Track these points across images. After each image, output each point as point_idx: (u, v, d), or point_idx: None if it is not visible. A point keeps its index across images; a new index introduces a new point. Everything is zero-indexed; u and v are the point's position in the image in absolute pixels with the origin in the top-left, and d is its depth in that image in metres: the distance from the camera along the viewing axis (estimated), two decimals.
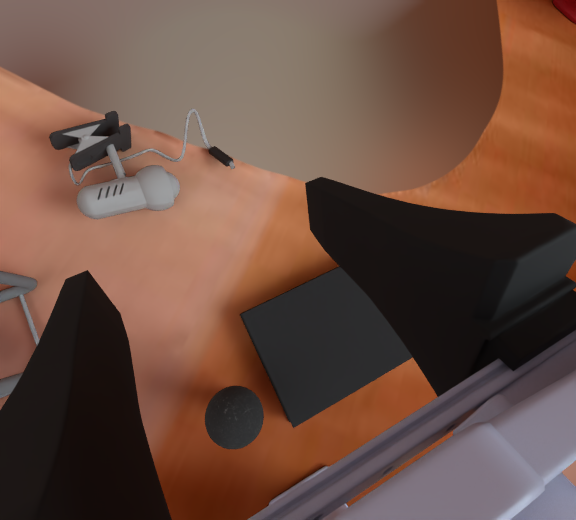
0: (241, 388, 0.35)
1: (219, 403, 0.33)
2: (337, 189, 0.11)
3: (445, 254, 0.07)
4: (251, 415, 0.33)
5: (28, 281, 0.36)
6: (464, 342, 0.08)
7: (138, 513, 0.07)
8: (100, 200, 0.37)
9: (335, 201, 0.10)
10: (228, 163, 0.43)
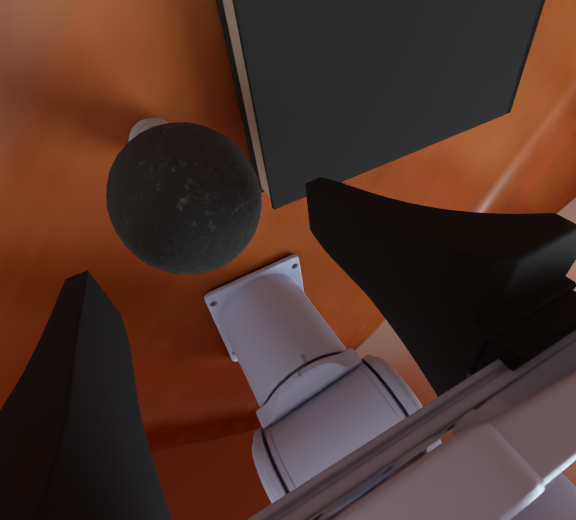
0: (218, 138, 0.12)
1: (161, 175, 0.11)
2: (337, 189, 0.11)
3: (445, 254, 0.07)
4: (247, 218, 0.12)
5: None
6: (464, 342, 0.08)
7: (139, 513, 0.07)
8: None
9: (335, 201, 0.10)
10: None
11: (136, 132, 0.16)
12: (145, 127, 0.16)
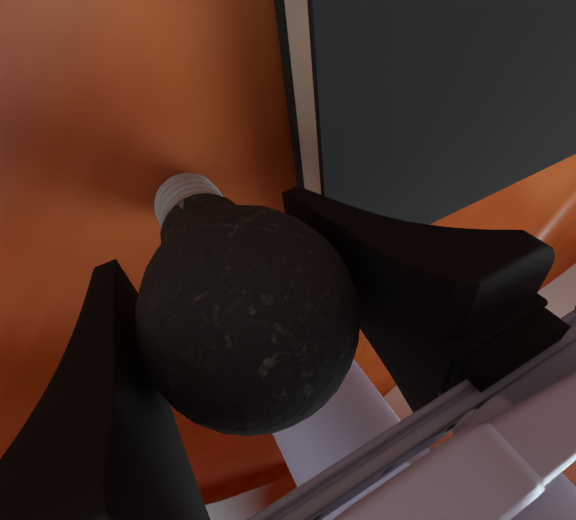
0: (309, 240, 0.08)
1: (233, 322, 0.07)
2: (312, 200, 0.10)
3: (411, 272, 0.07)
4: (351, 358, 0.08)
5: None
6: (433, 361, 0.08)
7: (178, 490, 0.07)
8: None
9: (309, 212, 0.10)
10: None
11: (166, 196, 0.12)
12: (179, 190, 0.12)
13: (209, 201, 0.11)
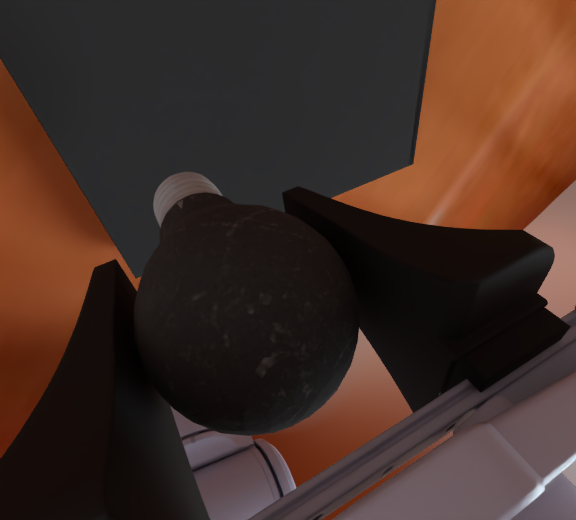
0: (308, 239, 0.08)
1: (231, 321, 0.07)
2: (312, 199, 0.10)
3: (411, 272, 0.07)
4: (350, 358, 0.08)
5: None
6: (433, 361, 0.08)
7: (178, 489, 0.07)
8: None
9: (309, 212, 0.10)
10: None
11: (165, 196, 0.12)
12: (178, 190, 0.12)
13: (208, 200, 0.11)
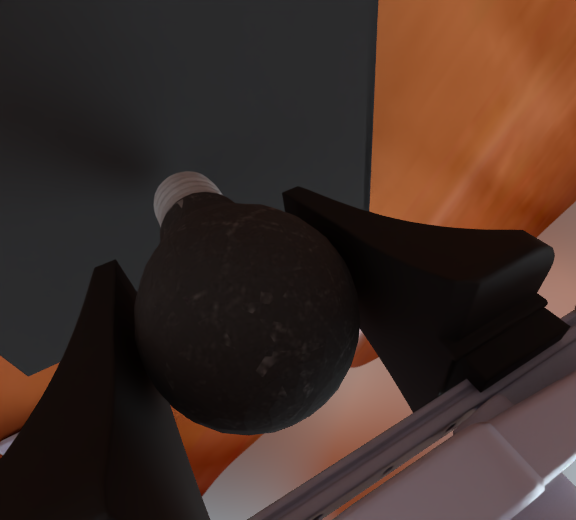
0: (308, 238, 0.08)
1: (232, 320, 0.07)
2: (312, 199, 0.10)
3: (411, 272, 0.07)
4: (351, 357, 0.08)
5: None
6: (433, 361, 0.08)
7: (178, 490, 0.07)
8: None
9: (309, 212, 0.10)
10: None
11: (166, 195, 0.12)
12: (178, 189, 0.12)
13: (208, 200, 0.11)
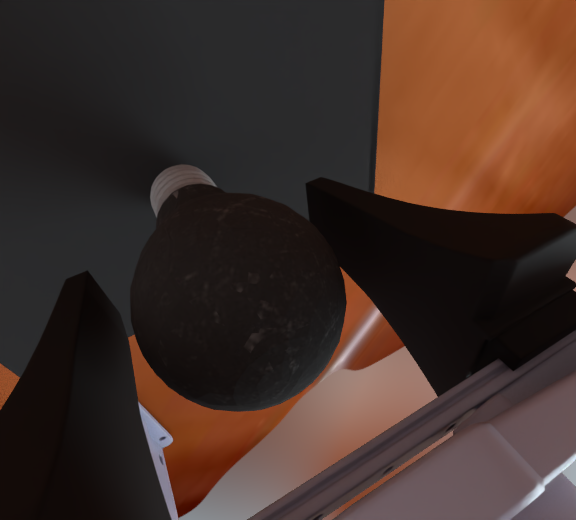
0: (295, 224, 0.08)
1: (221, 298, 0.07)
2: (337, 189, 0.11)
3: (445, 254, 0.07)
4: (336, 338, 0.09)
5: None
6: (464, 342, 0.08)
7: (139, 512, 0.07)
8: None
9: (335, 201, 0.10)
10: None
11: (162, 187, 0.12)
12: (174, 181, 0.12)
13: (202, 191, 0.11)
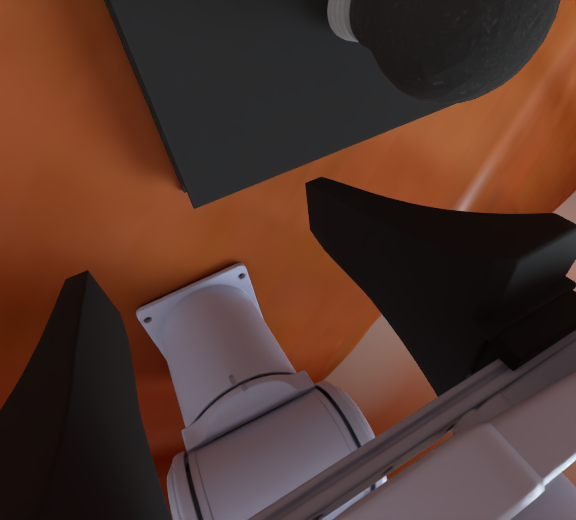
0: None
1: None
2: (337, 189, 0.11)
3: (445, 254, 0.07)
4: (558, 4, 0.11)
5: None
6: (464, 342, 0.08)
7: (139, 513, 0.07)
8: None
9: (335, 201, 0.10)
10: None
11: None
12: None
13: None
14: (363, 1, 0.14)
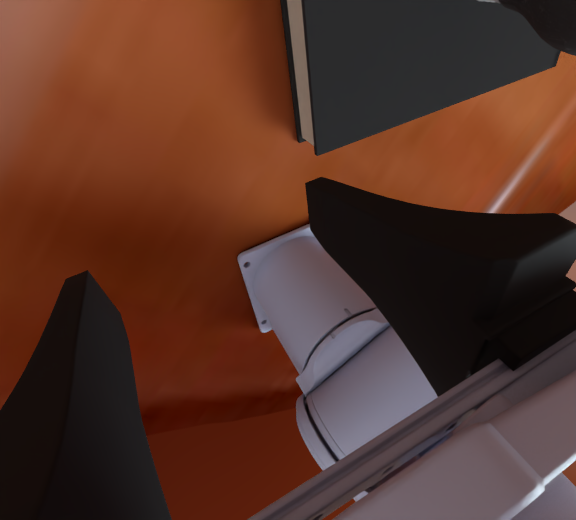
0: None
1: None
2: (337, 189, 0.11)
3: (445, 254, 0.07)
4: None
5: None
6: (464, 342, 0.08)
7: (139, 513, 0.07)
8: None
9: (335, 201, 0.10)
10: None
11: None
12: None
13: None
14: None
